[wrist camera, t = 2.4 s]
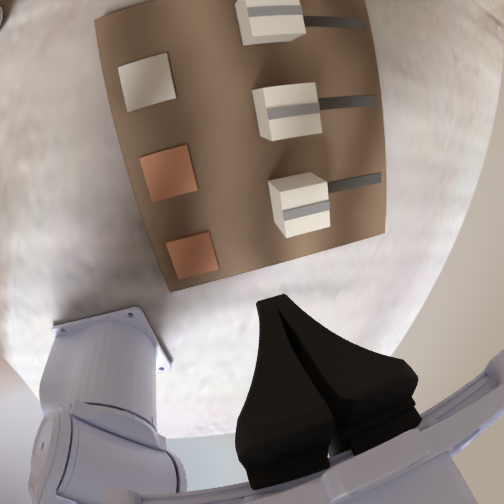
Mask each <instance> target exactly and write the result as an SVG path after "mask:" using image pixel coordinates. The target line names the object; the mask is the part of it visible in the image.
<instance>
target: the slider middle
mask: <svg viewBox="0 0 504 504" xmlns="http://www.w3.org/2000/svg"><path fill="white" fill-rule="evenodd" d="M252 93H253V99H254V104H255V110H256V115H257V121H258V126H259V132H260V136H261V137H263V138H266V139H268V140H270V141H276V140H281V139H287V138H293V137H299V136H305V135H312V134H319V133H322V127H321V119H320V106H319V103H318V98H317V91H316V84H315V82H312V83H300V84H290V85H281V86H273V87H266V88H260V89H255V90H252Z"/></svg>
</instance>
